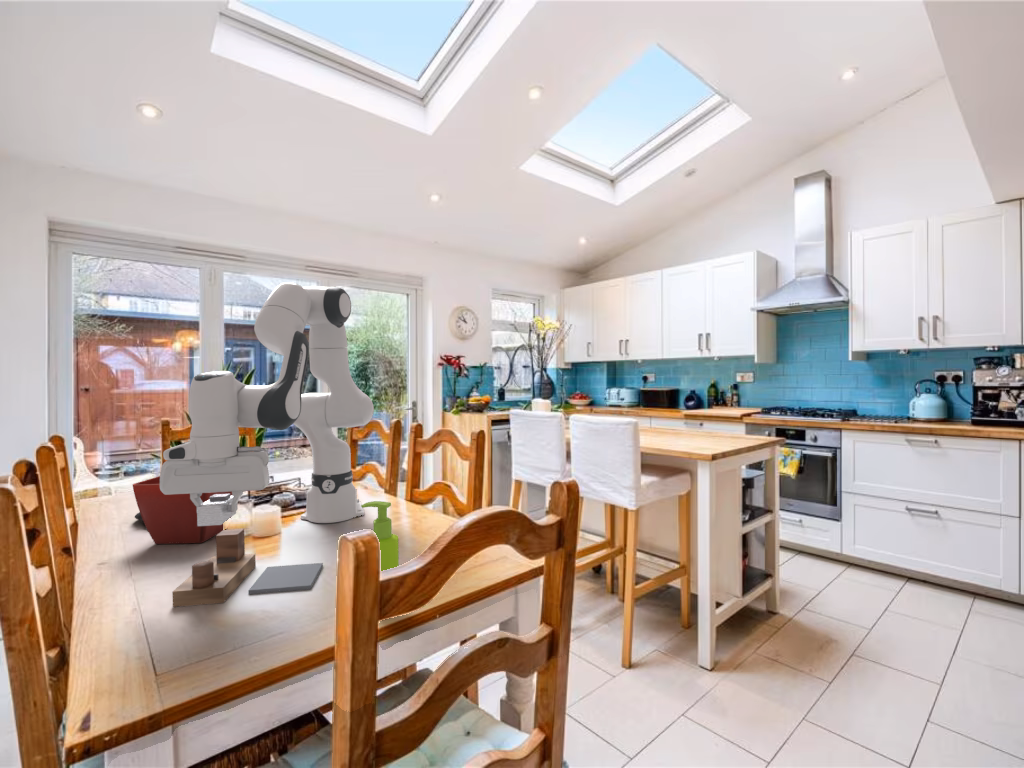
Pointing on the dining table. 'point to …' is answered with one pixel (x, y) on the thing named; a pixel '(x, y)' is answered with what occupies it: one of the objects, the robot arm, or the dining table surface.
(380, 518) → the soap dispenser
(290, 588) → the slate mat
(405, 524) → the dining table surface
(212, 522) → the lever cap
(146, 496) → the plant pot
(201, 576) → the body
